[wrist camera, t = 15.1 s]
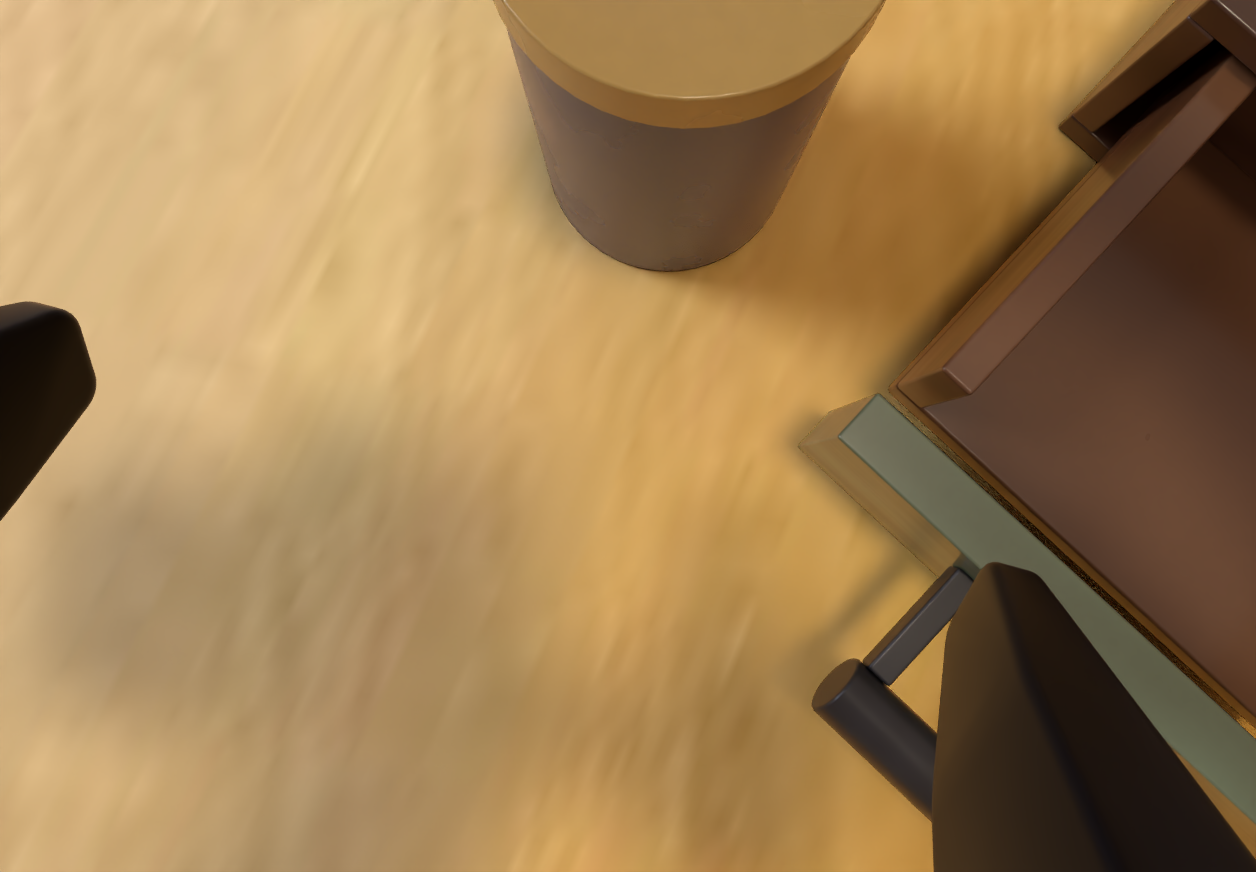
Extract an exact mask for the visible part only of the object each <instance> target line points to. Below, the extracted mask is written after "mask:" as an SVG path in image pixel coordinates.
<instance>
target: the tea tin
mask: <svg viewBox="0 0 1256 872" xmlns="http://www.w3.org/2000/svg"><path fill="white" fill-rule="evenodd" d="M493 1H494V4H495V6H496V8H497V10H498V12H499V15H500V17H501V19H502V21H503V22H504V24H505V26H506V27H507V31H508V34H509V38H510V41H511V45H512V48H513V52H514V55H515V59H516V62H517V66H518V69H519V73H520V76H521V79H522V83H523V86H524V90H525V93H526V97H527V100H528V104H529V107H530V111H531V114H532V118H533V121H534V125H535V128H536V132H537V135H538V138H539V142H540V145H541V149H542V152H543V156H544V159H545V163H546V166H547V170H548V173H549V177H550V180H551V183H552V187H553V190H554V193H555V195H556V198H557V200H558V202H559V204H560V206H561V208H562V210H563V212H564V213H565V215H566V216H567V218H568V220H569V221H570V222H571V224H572V225H573V226H574V227H575V228H576V230H577V231H578V232H579V233H580V234H581V235H582V236H583V237H584V238H585V239H586V240H587V241H589V242H590V243H591V244H592V245H593V246H595V247H596V248H598V249H599V250H601V251H602V252H603V253H605V254H607V255H609V256H611V257H613V258H615V259H616V260H619V261H621V262H624V263H627V264H629V265H632V266H636V267H640V268H645V269H650V270H660V271H676V270H685V269H691V268H697V267H700V266H704V265H707V264H710V263H713V262H715V261H717V260H719V259H722V258H724V257H726V256H728V255H729V254H731V253H733V252H734V251H736V250H737V249H739V248H740V247H742V246H743V245H744V244H745V243H747V242H748V241H749V240H750V239H751V238H752V237H753V236H754V235H755V234H756V233H757V232H758V231H759V230H760V229H761V228H762V227H763V225H764V224H765V223H766V221H767V220H768V219H769V217H770V216H771V214H772V213H773V211H774V209H775V207H776V205H777V203H778V201H779V200H780V198H781V196H782V194H783V191H784V189H785V187H786V185H787V183H788V181H789V179H790V177H791V175H792V173H793V171H794V169H795V167H796V165H797V163H798V161H799V159H800V157H801V155H802V153H803V151H804V149H805V147H806V145H807V143H808V141H809V139H810V137H811V135H812V133H813V131H814V129H815V127H816V125H817V123H818V121H819V119H820V117H821V115H822V113H823V111H824V109H825V107H826V105H827V103H828V101H829V99H830V97H831V95H832V93H833V91H834V89H835V87H836V85H837V83H838V81H839V79H840V77H841V75H842V73H843V71H844V69H845V67H846V65H847V63H848V61H849V59H850V57H851V55H852V54H853V53H854V52H855V50H856V49H857V47H858V46H859V45H860V43H861V42H862V41H863V39H864V38H865V36H866V35H867V34H868V32H869V31H870V29H871V28H872V26H873V24H874V22H875V20H876V18H877V16H878V14H879V13H880V11H881V9H882V7H883V5H884V3H885V1H886V0H493Z"/></svg>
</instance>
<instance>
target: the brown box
mask: <svg viewBox="0 0 1256 872" xmlns="http://www.w3.org/2000/svg"><path fill="white" fill-rule="evenodd" d="M1223 47H1225V48H1226V49H1227V50H1228V51H1229V52H1231V53H1232V54H1233V55H1234V56H1235V57H1236V58H1237V59H1239V60H1240V61H1241V62H1242V63H1243V64H1244V65H1245V66H1247V67H1248V68H1249V69H1250V70H1251V71H1252V72H1254V73H1255V74H1256V0H1176V1H1175V2H1174V3H1173V4H1172V5H1171V6H1170V7H1169V8H1168V10H1167V11H1166V12H1165V13H1164V14H1163V15H1162V16H1161V17H1160V18H1159V19H1158V20H1157V21H1156V22H1155V23H1154V25H1153V26H1152V27H1151V28H1150V29H1149V30H1148V31H1147V32H1146V33H1145V34H1144V35H1143V36H1142V37H1141V38H1140V40H1139V41H1138V42H1137V43H1136V44H1135V45H1134V46H1133V47H1132V48H1131V49H1130V50H1129V51H1128V52H1127V53H1126V54H1125V56H1124V57H1123V58H1122V59H1121V60H1120V61H1119V62H1118V63H1117V64H1116V65H1115V66H1114V67H1113V68H1112V69H1111V71H1110V72H1109V73H1108V74H1107V75H1106V76H1105V77H1104V78H1103V79H1102V80H1101V81H1100V82H1099V83H1098V84H1097V85H1096V87H1095V88H1094V89H1093V90H1092V91H1091V92H1090V93H1089V94H1088V95H1087V96H1086V97H1085V98H1084V99H1083V100H1082V102H1081V103H1080V104H1079V105H1078V106H1077V107H1076V108H1075V109H1074V110H1073V111H1072V112H1071V113H1070V114H1069V115H1068V116H1067V118H1066V119H1065V120H1064V121H1063V122H1062V123H1061V124H1060V125H1059V129H1061V130H1062V131H1063V132H1064V133H1065V134H1066V135H1067V136H1068V137H1070V138H1071V139H1072V140H1073V141H1074V142H1075V143H1076V144H1077V145H1079V146H1080V147H1081V148H1082V149H1083V150H1084V151H1085V152H1086V153H1088V154H1089V155H1090V156H1091V157H1092V158H1093V159H1094V160H1095V161H1097V162H1099V161H1100V159H1101V158H1102V157H1103V156H1104V155H1105V154H1106V153H1107V152H1108V151H1109V150H1110V149H1111V148H1112V147H1113V146H1114V144H1115V143H1116V142H1117V141H1118V140H1119V139H1120V138H1121V137H1122V136H1123V135H1124V134H1125V133H1126V132H1127V130H1128V129H1129V128H1130V127H1131V126H1132V125H1133V124H1134V123H1135V122H1136V121H1137V120H1138V119H1139V118H1140V117H1141V115H1142V114H1143V113H1144V112H1145V111H1146V110H1147V109H1148V108H1149V107H1150V106H1151V105H1152V104H1153V103H1154V101H1155V100H1156V99H1157V98H1158V97H1159V96H1160V95H1161V94H1162V93H1163V92H1164V91H1166V90H1167V89H1168V88H1170V87H1171V86H1172V85H1174V84H1175V83H1176V82H1178V81H1179V80H1181V79H1182V78H1183V77H1184V76H1185V75H1187V74H1188V73H1189V72H1191V71H1192V70H1193V69H1195V68H1196V67H1197V66H1199V65H1200V64H1201V63H1203V62H1204V61H1205V60H1207V59H1208V58H1209V57H1211V56H1212V55H1213V54H1215V53H1216V52H1217V51H1219V50H1220V49H1221V48H1223Z"/></svg>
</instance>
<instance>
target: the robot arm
mask: <svg viewBox="0 0 1256 872" xmlns="http://www.w3.org/2000/svg"><path fill="white" fill-rule="evenodd" d="M95 390H96V377H95V373H94V370H93V366H92V363H91V360H90V357H89V354H88V350H87V347H86V344H85V341H84V337H83V334H82V331H81V328H80V325H79V323H78V321H77V320H76V318H75V317H74V316H73V315H72V314H71V313H69V312H67V311H65V310H63V309H59V308H56V307H52V306H48V305H44V304H41V303H36V302H19V303H15V304H10V305H5V306H0V521H1V520H2V518H3V517H4V516H5V515H6V514H7V512H8V511H9V510H10V508H11V507H12V506H13V505H14V503H15V502H16V501H17V500H18V498H19V497H20V496H21V494H22V493H23V492H24V490H25V489H26V488H27V486H28V485H29V484H30V482H31V481H32V480H33V479H34V477H35V476H36V475H37V473H38V472H39V471H40V469H41V468H42V467H43V465H44V464H45V463H46V461H47V460H48V459H49V457H50V456H51V455H52V453H53V452H54V451H55V449H56V448H57V447H58V445H59V444H60V443H61V441H62V440H63V439H64V437H65V436H66V435H67V433H68V432H69V431H70V429H71V428H72V427H73V426H74V424H75V423H76V422H77V420H78V419H79V418H80V416H81V415H82V414H83V412H84V411H85V410H86V408H87V407H88V406H89V404H90V403H91V401H92V399H93V397H94V394H95ZM932 834H933V863H934V872H1256V859H1255V857H1254V856H1253V855H1252V853H1251V852H1250V851H1249V849H1248V848H1247V847H1246V846H1245V844H1244V843H1243V842H1242V840H1241V839H1240V838H1239V836H1238V835H1237V834H1236V832H1235V831H1234V830H1233V829H1232V827H1231V826H1230V825H1229V823H1228V822H1227V821H1226V819H1225V818H1224V817H1223V815H1222V814H1221V813H1220V811H1219V810H1218V809H1217V808H1216V806H1215V805H1214V804H1213V802H1212V801H1211V800H1210V798H1209V797H1208V796H1207V794H1206V793H1205V792H1204V790H1203V789H1202V788H1201V787H1200V785H1199V784H1198V783H1197V781H1196V780H1195V779H1194V777H1193V776H1192V775H1191V773H1190V772H1189V771H1188V769H1187V768H1186V767H1185V766H1184V764H1183V763H1182V762H1181V760H1180V759H1179V758H1178V756H1177V755H1176V754H1175V752H1174V751H1173V750H1172V748H1171V747H1170V746H1169V745H1168V743H1167V742H1166V741H1165V739H1164V738H1163V737H1162V735H1161V734H1160V733H1159V731H1158V730H1157V729H1156V727H1155V726H1154V725H1153V724H1152V722H1151V721H1150V720H1149V718H1148V717H1147V716H1146V714H1145V713H1144V712H1143V710H1142V709H1141V708H1140V707H1139V705H1138V704H1137V703H1136V701H1135V700H1134V699H1133V697H1132V696H1131V695H1130V693H1129V692H1128V691H1127V689H1126V688H1125V687H1124V686H1123V684H1122V683H1121V682H1120V680H1119V679H1118V678H1117V676H1116V675H1115V674H1114V672H1113V671H1112V670H1111V668H1110V667H1109V666H1108V665H1107V663H1106V662H1105V661H1104V659H1103V658H1102V657H1101V655H1100V654H1099V653H1098V651H1097V650H1096V649H1095V647H1094V646H1093V645H1092V644H1091V642H1090V641H1089V640H1088V638H1087V637H1086V636H1085V634H1084V633H1083V632H1082V630H1081V629H1080V628H1079V626H1078V625H1077V624H1076V623H1075V621H1074V620H1073V619H1072V617H1071V616H1070V615H1069V613H1068V612H1067V611H1066V609H1065V608H1064V607H1063V606H1062V604H1061V603H1060V602H1059V600H1058V599H1057V598H1056V596H1055V595H1054V594H1053V592H1052V591H1051V590H1050V588H1049V587H1048V586H1047V585H1046V583H1045V582H1044V581H1043V580H1042V578H1041V577H1040V576H1039V575H1037V574H1036V573H1034V572H1032V571H1029V570H1025V569H1022V568H1018V567H1014V566H1011V565H1007V564H1003V563H1000V562H991V563H987V564H986V565H985V566H984V567H983V568H982V569H981V570H980V572H979V573H978V575H977V577H976V579H975V580H974V582H973V584H972V585H971V587H970V589H969V591H968V592H967V594H966V596H965V597H964V599H963V601H962V603H961V604H960V606H959V608H958V610H957V611H956V613H955V615H954V616H953V618H952V620H951V623H950V625H949V629H948V632H947V636H946V642H945V651H944V663H943V674H942V685H941V697H940V708H939V719H938V731H937V742H936V753H935V765H934V777H933V793H932Z"/></svg>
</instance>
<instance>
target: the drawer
mask: <svg viewBox="0 0 1256 872" xmlns="http://www.w3.org/2000/svg"><path fill="white" fill-rule="evenodd" d="M888 391H889V393H891V394H892V395H893V396H894V397H895V398H896V399H897V400H898V401H899V402H900V403H901V404H902V405H904V406H905V407H906V408H907V409H908V410H909V411H910V412H911V413H912V414H913V415H914V416H916V417H917V418H918V419H919V420H920V421H921V422H922V423H923V424H924V425H925V426H926V427H928V428H929V429H930V430H931V431H932V432H933V433H934V434H935V435H936V436H937V437H938V438H940V439H941V440H942V441H943V442H944V443H945V444H946V445H947V446H948V447H949V448H950V449H951V450H953V451H954V452H955V453H956V454H957V455H958V456H959V457H960V458H961V459H962V460H963V461H965V462H966V463H967V464H968V465H969V466H970V467H971V468H972V469H973V470H974V471H975V472H977V473H978V474H979V475H980V476H981V477H982V478H983V479H984V480H985V481H986V482H987V483H989V484H990V485H991V486H992V487H993V488H994V489H995V490H996V491H997V492H998V493H999V494H1000V495H1002V496H1003V497H1004V498H1005V499H1006V500H1007V501H1008V502H1009V503H1010V504H1011V505H1012V506H1014V507H1015V508H1016V509H1017V510H1018V511H1019V512H1020V513H1021V514H1022V515H1023V516H1024V517H1026V518H1027V519H1028V520H1029V521H1030V522H1031V523H1032V524H1033V525H1034V526H1035V527H1036V528H1038V529H1039V530H1040V531H1041V532H1042V533H1043V534H1044V535H1045V536H1046V537H1047V538H1048V539H1049V540H1051V541H1052V542H1053V543H1054V544H1055V545H1056V546H1057V547H1058V548H1059V549H1060V550H1061V551H1063V552H1064V553H1065V554H1066V555H1067V556H1068V557H1069V558H1070V559H1071V560H1072V561H1073V562H1075V563H1076V564H1077V565H1078V566H1079V567H1080V568H1081V569H1082V570H1083V571H1084V572H1085V573H1087V574H1088V575H1089V576H1090V577H1091V578H1092V579H1093V580H1094V581H1095V582H1096V583H1097V584H1098V585H1100V586H1101V587H1102V588H1103V589H1104V590H1105V591H1106V592H1107V593H1108V594H1109V595H1110V596H1112V597H1113V598H1114V599H1115V600H1116V601H1117V602H1118V603H1119V604H1120V605H1121V606H1122V607H1124V608H1125V609H1126V610H1127V611H1128V612H1129V613H1130V614H1131V615H1132V616H1133V617H1134V618H1136V619H1137V620H1138V621H1139V622H1140V623H1141V624H1142V625H1143V626H1144V627H1145V628H1146V629H1147V630H1149V631H1150V632H1151V633H1152V634H1153V635H1154V636H1155V637H1156V638H1157V639H1158V640H1159V641H1161V642H1162V643H1163V644H1164V645H1165V646H1166V647H1167V648H1168V649H1169V650H1170V651H1171V652H1173V653H1174V654H1175V655H1176V656H1177V657H1178V658H1179V659H1180V660H1181V661H1182V662H1183V663H1185V664H1186V665H1187V666H1188V667H1189V668H1190V669H1191V670H1192V671H1193V672H1194V673H1195V674H1196V675H1198V676H1199V677H1200V678H1201V679H1202V680H1203V681H1204V682H1205V683H1206V684H1207V685H1208V686H1210V687H1211V688H1212V689H1213V690H1214V691H1215V692H1216V693H1217V694H1218V695H1219V696H1220V697H1222V698H1223V699H1224V700H1225V701H1226V702H1227V703H1228V704H1229V705H1230V706H1231V707H1232V708H1234V709H1235V710H1236V711H1237V712H1238V713H1239V714H1240V715H1241V716H1242V717H1243V718H1244V719H1245V720H1247V721H1248V722H1249V723H1250V724H1251V725H1252V726H1253V727H1254V728H1255V729H1256V74H1255V73H1254V72H1252V71H1251V70H1250V69H1249V68H1248V67H1247V66H1245V65H1244V64H1243V63H1242V62H1241V61H1240V60H1239V59H1237V58H1236V57H1235V56H1234V55H1233V54H1232V53H1231V52H1229V51H1228V50H1227V49H1226V48H1225V47H1223V48H1221V49H1220V50H1219V51H1217V52H1216V53H1215V54H1213V55H1212V56H1211V57H1209V58H1208V59H1207V60H1205V61H1204V62H1203V63H1201V64H1200V65H1199V66H1197V67H1196V68H1195V69H1193V70H1192V71H1191V72H1189V73H1188V74H1187V75H1185V76H1184V77H1183V78H1182V79H1181V80H1179V81H1178V82H1176V83H1175V84H1174V85H1172V86H1171V87H1170V88H1168V89H1167V90H1166V91H1164V92H1163V93H1162V94H1161V95H1160V96H1159V97H1158V98H1157V99H1156V100H1155V101H1154V103H1153V104H1152V105H1151V106H1150V107H1149V108H1148V109H1147V110H1146V111H1145V112H1144V113H1143V114H1142V115H1141V117H1140V118H1139V119H1138V120H1137V121H1136V122H1135V123H1134V124H1133V125H1132V126H1131V127H1130V128H1129V129H1128V130H1127V132H1126V133H1125V134H1124V135H1123V136H1122V137H1121V138H1120V139H1119V140H1118V141H1117V142H1116V143H1115V144H1114V146H1113V147H1112V148H1111V149H1110V150H1109V151H1108V152H1107V153H1106V154H1105V155H1104V156H1103V157H1102V158H1101V159H1100V161H1099V162H1098V163H1097V164H1096V165H1095V166H1094V167H1093V168H1092V169H1091V170H1090V171H1089V172H1088V173H1087V174H1086V176H1085V177H1084V178H1083V179H1082V180H1081V181H1080V182H1079V183H1078V184H1077V185H1076V186H1075V187H1074V188H1073V190H1072V191H1071V192H1070V193H1069V194H1068V195H1067V196H1066V197H1065V198H1064V199H1063V200H1062V201H1061V202H1060V203H1059V205H1058V206H1057V207H1056V208H1055V209H1054V210H1053V211H1052V212H1051V213H1050V214H1049V215H1048V216H1047V217H1046V219H1045V220H1044V221H1043V222H1042V223H1041V224H1040V225H1039V226H1038V227H1037V228H1036V229H1035V230H1034V231H1033V232H1032V234H1031V235H1030V236H1029V237H1028V238H1027V239H1026V240H1025V241H1024V242H1023V243H1022V244H1021V245H1020V246H1019V248H1018V249H1017V250H1016V251H1015V252H1014V253H1013V254H1012V255H1011V256H1010V257H1009V258H1008V259H1007V260H1006V261H1005V263H1004V264H1003V265H1002V266H1001V267H1000V268H999V269H998V270H997V271H996V272H995V273H994V274H993V275H992V276H991V278H990V279H989V280H988V281H987V282H986V283H985V284H984V285H983V286H982V287H981V288H980V289H979V290H978V292H977V293H976V294H975V295H974V296H973V297H972V298H971V299H970V300H969V301H968V302H967V303H966V304H965V305H964V307H963V308H962V309H961V310H960V311H959V312H958V313H957V314H956V315H955V316H954V317H953V318H952V319H951V321H950V322H949V323H948V324H947V325H946V326H945V327H944V328H943V329H942V330H941V331H940V332H939V333H938V334H937V336H936V337H935V338H934V339H933V340H932V341H931V342H930V343H929V344H928V345H927V346H926V347H925V348H924V349H923V351H922V352H921V353H920V354H919V355H918V356H917V357H916V358H915V359H914V360H913V361H912V362H911V363H910V365H909V366H908V367H907V368H906V369H905V370H904V371H903V372H902V373H901V374H900V375H899V376H898V377H897V378H896V380H895V381H894V382H893V383H892V384H891V385H890V386H889V388H888ZM798 447H799V449H801V450H802V451H803V452H804V453H805V454H806V455H807V456H808V457H809V458H810V459H811V460H812V461H813V462H815V463H816V464H817V465H818V466H819V467H820V468H821V469H822V470H823V471H824V472H825V473H826V474H827V475H829V476H830V477H831V478H832V479H833V480H834V481H835V482H836V483H837V484H838V485H839V486H840V487H841V488H843V489H844V490H845V491H846V492H847V493H848V494H849V495H850V496H851V497H852V498H853V499H854V500H855V501H857V502H858V503H859V504H860V505H861V506H862V507H863V508H864V509H865V510H866V511H867V512H868V513H869V514H871V515H872V516H873V517H874V518H875V519H876V520H877V521H878V522H879V523H880V524H881V525H882V526H883V527H885V528H886V529H887V530H888V531H889V532H890V533H891V534H892V535H893V536H894V537H895V538H896V539H897V540H899V541H900V542H901V543H902V544H903V545H904V546H905V547H906V548H907V549H908V550H909V551H910V552H911V553H913V554H914V555H915V556H916V557H917V558H918V559H919V560H920V561H921V562H922V563H923V564H924V565H925V566H927V567H928V568H929V569H930V570H931V571H932V572H933V573H934V574H935V575H936V576H937V577H938V579H937V580H936V581H935V582H934V583H933V584H932V586H931V587H930V588H929V589H928V590H927V591H926V592H925V593H924V594H923V595H922V596H921V597H920V599H919V600H918V601H917V602H916V603H915V604H914V605H913V606H912V607H911V608H910V609H909V611H908V612H907V613H906V614H905V615H904V616H903V617H902V618H901V619H900V620H899V621H898V622H897V624H896V625H895V626H894V627H893V628H892V629H891V630H890V631H889V632H888V633H887V634H886V636H885V637H884V638H883V639H882V640H881V641H880V642H879V643H878V644H877V645H876V646H875V648H874V649H873V650H872V651H871V652H870V653H869V654H868V655H867V656H866V657H865V658H864V659H863V663H862V662H861V661H860V660H858V659H849V660H847V661H845V662H843V663H842V664H840V665H839V666H837V667H836V668H835V669H834V670H833V671H832V672H831V673H830V674H829V675H828V676H827V677H826V678H825V679H824V680H823V682H822V683H821V684H820V686H819V687H818V689H817V690H816V692H815V694H814V697H813V699H812V708H813V710H814V711H815V712H816V713H817V714H818V715H819V716H820V717H821V718H822V719H823V720H825V721H826V722H827V723H828V724H829V725H830V726H831V727H832V728H833V729H834V730H835V731H836V732H837V733H838V734H839V735H840V736H841V737H842V738H844V739H845V740H846V741H847V742H848V743H849V744H850V745H851V746H852V747H853V748H854V749H855V750H856V751H857V752H858V753H859V754H860V755H861V756H863V757H864V758H865V759H866V760H867V761H868V762H869V763H870V764H871V765H872V766H873V767H874V768H875V769H876V770H877V771H878V772H879V773H880V774H882V775H883V776H884V777H885V778H886V779H887V780H888V781H889V782H890V783H891V784H892V785H893V786H894V787H895V788H896V789H897V790H898V791H899V792H901V793H902V794H903V795H904V796H905V797H906V798H907V799H908V800H909V801H910V802H911V803H912V804H913V805H914V806H915V807H916V808H917V809H918V810H920V811H921V812H922V813H923V814H924V815H925V816H926V817H927V818H928V819H929V820H930V821H931V822H932V793H933V777H934V765H935V753H936V742H937V733H936V732H935V731H934V730H933V729H932V728H931V727H930V726H929V725H928V724H927V723H926V722H924V721H923V720H922V719H921V718H920V717H919V716H918V715H917V714H916V713H915V712H914V711H913V710H912V709H911V708H910V707H909V706H907V705H906V704H905V703H904V702H903V701H902V700H901V699H900V698H899V697H898V696H897V695H896V694H895V693H894V692H893V691H892V690H890V689H889V688H888V687H887V686H886V685H888V686H889V685H891V684H892V683H893V682H894V681H895V680H896V679H897V678H898V676H899V675H900V674H901V673H902V672H903V671H904V670H905V669H906V668H907V667H908V666H909V664H910V663H911V662H912V661H913V660H914V659H915V658H916V657H917V656H918V655H919V654H920V652H921V651H922V650H923V649H924V648H925V647H926V646H927V645H928V644H929V643H930V642H931V640H932V639H933V638H934V637H935V636H936V635H937V634H938V633H939V632H940V631H941V630H942V628H943V627H944V626H945V625H946V624H947V623H948V622H949V621H950V620H951V619H952V618H953V616H954V615H955V613H956V611H957V610H958V608H959V606H960V604H961V603H962V601H963V599H964V597H965V596H966V594H967V592H968V591H969V589H970V587H971V585H972V584H973V582H974V580H975V579H976V577H977V575H978V573H979V572H980V570H981V569H982V568H983V567H984V566H985V565H986V564H987V563H991V562H1000V563H1003V564H1007V565H1011V566H1014V567H1018V568H1022V569H1025V570H1029V571H1032V572H1034V573H1036V574H1037V575H1039V576H1040V577H1041V578H1042V580H1043V581H1044V582H1045V583H1046V585H1047V586H1048V587H1049V588H1050V590H1051V591H1052V592H1053V594H1054V595H1055V596H1056V598H1057V599H1058V600H1059V602H1060V603H1061V604H1062V606H1063V607H1064V608H1065V609H1066V611H1067V612H1068V613H1069V615H1070V616H1071V617H1072V619H1073V620H1074V621H1075V623H1076V624H1077V625H1078V626H1079V628H1080V629H1081V630H1082V632H1083V633H1084V634H1085V636H1086V637H1087V638H1088V640H1089V641H1090V642H1091V644H1092V645H1093V646H1094V647H1095V649H1096V650H1097V651H1098V653H1099V654H1100V655H1101V657H1102V658H1103V659H1104V661H1105V662H1106V663H1107V665H1108V666H1109V667H1110V668H1111V670H1112V671H1113V672H1114V674H1115V675H1116V676H1117V678H1118V679H1119V680H1120V682H1121V683H1122V684H1123V686H1124V687H1125V688H1126V689H1127V691H1128V692H1129V693H1130V695H1131V696H1132V697H1133V699H1134V700H1135V701H1136V703H1137V704H1138V705H1139V707H1140V708H1141V709H1142V710H1143V712H1144V713H1145V714H1146V716H1147V717H1148V718H1149V720H1150V721H1151V722H1152V724H1153V725H1154V726H1155V727H1156V729H1157V730H1158V731H1159V733H1160V734H1161V735H1162V737H1163V738H1164V739H1165V741H1166V742H1167V743H1168V745H1169V746H1170V747H1171V748H1172V750H1173V751H1174V752H1175V754H1176V755H1177V756H1178V758H1179V759H1180V760H1181V762H1182V763H1183V764H1184V766H1185V767H1186V768H1187V769H1188V771H1189V772H1190V773H1191V775H1192V776H1193V777H1194V779H1195V780H1196V781H1197V783H1198V784H1199V785H1200V787H1201V788H1202V789H1203V790H1204V792H1205V793H1206V794H1207V796H1208V797H1209V798H1210V800H1211V801H1212V802H1213V804H1214V805H1215V806H1216V808H1217V809H1218V810H1219V811H1220V813H1221V814H1222V815H1223V817H1224V818H1225V819H1226V821H1227V822H1228V823H1229V825H1230V826H1231V827H1232V829H1233V830H1234V831H1235V832H1236V834H1237V835H1238V836H1239V838H1240V839H1241V840H1242V842H1243V843H1244V844H1245V846H1246V847H1247V848H1248V849H1249V851H1250V852H1251V853H1252V855H1253V856H1254V857H1255V858H1256V739H1255V738H1254V737H1253V736H1252V735H1251V734H1250V733H1248V732H1247V731H1246V730H1245V729H1244V728H1243V727H1242V726H1241V725H1240V724H1239V723H1238V722H1237V721H1235V720H1234V719H1233V718H1232V717H1231V716H1230V715H1229V714H1228V713H1227V712H1226V711H1225V710H1223V709H1222V708H1221V707H1220V706H1219V705H1218V704H1217V703H1216V702H1215V701H1214V700H1213V699H1211V698H1210V697H1209V696H1208V695H1207V694H1206V693H1205V692H1204V691H1203V690H1202V689H1201V688H1200V687H1198V686H1197V685H1196V684H1195V683H1194V682H1193V681H1192V680H1191V679H1190V678H1189V677H1188V676H1186V675H1185V674H1184V673H1183V672H1182V671H1181V670H1180V669H1179V668H1178V667H1177V666H1176V665H1175V664H1173V663H1172V662H1171V661H1170V660H1169V659H1168V658H1167V657H1166V656H1165V655H1164V654H1163V653H1161V652H1160V651H1159V650H1158V649H1157V648H1156V647H1155V646H1154V645H1153V644H1152V643H1151V642H1149V641H1148V640H1147V639H1146V638H1145V637H1144V636H1143V635H1142V634H1141V633H1140V632H1139V631H1138V630H1136V629H1135V628H1134V627H1133V626H1132V625H1131V624H1130V623H1129V622H1128V621H1127V620H1126V619H1124V618H1123V617H1122V616H1121V615H1120V614H1119V613H1118V612H1117V611H1116V610H1115V609H1114V608H1112V607H1111V606H1110V605H1109V604H1108V603H1107V602H1106V601H1105V600H1104V599H1103V598H1102V597H1101V596H1099V595H1098V594H1097V593H1096V592H1095V591H1094V590H1093V589H1092V588H1091V587H1090V586H1089V585H1087V584H1086V583H1085V582H1084V581H1083V580H1082V579H1081V578H1080V577H1079V576H1078V575H1077V574H1075V573H1074V572H1073V571H1072V570H1071V569H1070V568H1069V567H1068V566H1067V565H1066V564H1065V563H1064V562H1062V561H1061V560H1060V559H1059V558H1058V557H1057V556H1056V555H1055V554H1054V553H1053V552H1052V551H1050V550H1049V549H1048V548H1047V547H1046V546H1045V545H1044V544H1043V543H1042V542H1041V541H1040V540H1039V539H1037V538H1036V537H1035V536H1034V535H1033V534H1032V533H1031V532H1030V531H1029V530H1028V529H1027V528H1025V527H1024V526H1023V525H1022V524H1021V523H1020V522H1019V521H1018V520H1017V519H1016V518H1015V517H1013V516H1012V515H1011V514H1010V513H1009V512H1008V511H1007V510H1006V509H1005V508H1004V507H1003V506H1002V505H1000V504H999V503H998V502H997V501H996V500H995V499H994V498H993V497H992V496H991V495H990V494H988V493H987V492H986V491H985V490H984V489H983V488H982V487H981V486H980V485H979V484H978V483H976V482H975V481H974V480H973V479H972V478H971V477H970V476H969V475H968V474H967V473H966V472H965V471H963V470H962V469H961V468H960V467H959V466H958V465H957V464H956V463H955V462H954V461H953V460H951V459H950V458H949V457H948V456H947V455H946V454H945V453H944V452H943V451H942V450H941V449H940V448H938V447H937V446H936V445H935V444H934V443H933V442H932V441H931V440H930V439H929V438H928V437H926V436H925V435H924V434H923V433H922V432H921V431H920V430H919V429H918V428H917V427H916V426H914V425H913V424H912V423H911V422H910V421H909V420H908V419H907V418H906V417H905V416H904V415H903V414H901V413H900V412H899V411H898V410H897V409H896V408H895V407H894V406H893V405H892V404H891V403H889V402H888V401H887V400H886V399H885V398H884V397H883V396H882V395H881V394H879V393H877V394H874V395H872V396H869V397H866V398H864V399H861V400H859V401H856V402H853V403H851V404H848V405H845V406H843V407H840V408H837V409H835V410H832V411H830V412H828V413H827V415H826V416H825V417H824V418H823V419H822V420H821V421H820V422H819V423H818V424H817V425H816V426H815V427H814V428H813V430H812V431H811V432H810V433H809V434H808V435H807V436H806V437H805V438H804V439H803V440H802V441H801V442H800V443H799V445H798ZM885 684H886V685H885Z"/></svg>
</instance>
